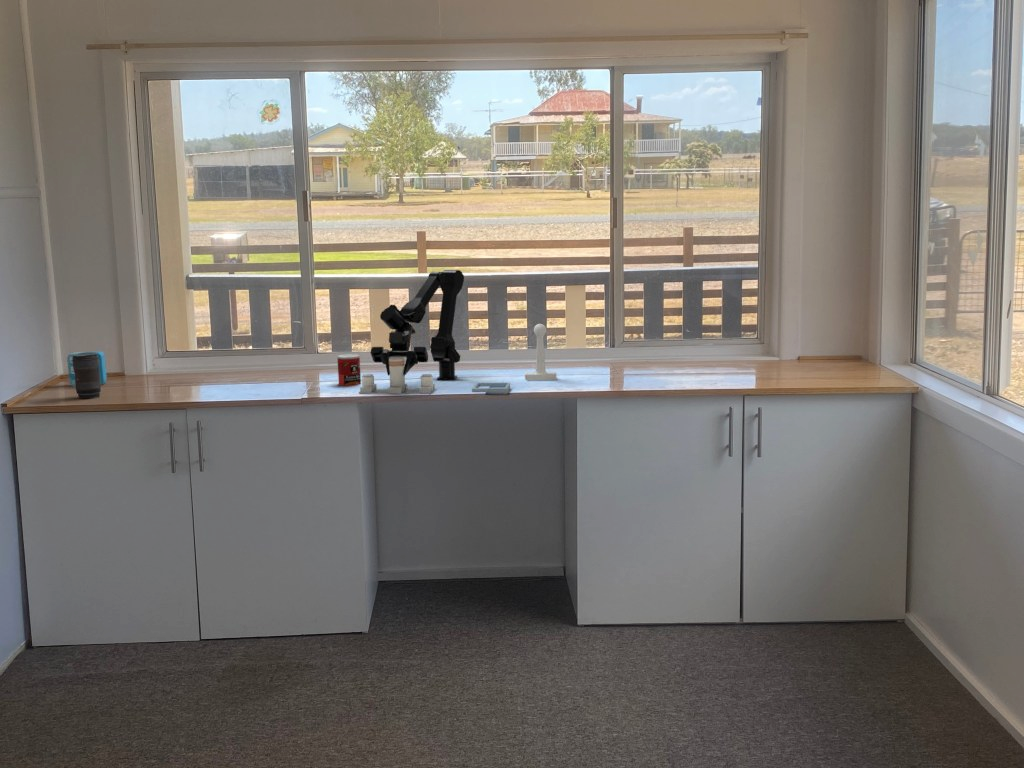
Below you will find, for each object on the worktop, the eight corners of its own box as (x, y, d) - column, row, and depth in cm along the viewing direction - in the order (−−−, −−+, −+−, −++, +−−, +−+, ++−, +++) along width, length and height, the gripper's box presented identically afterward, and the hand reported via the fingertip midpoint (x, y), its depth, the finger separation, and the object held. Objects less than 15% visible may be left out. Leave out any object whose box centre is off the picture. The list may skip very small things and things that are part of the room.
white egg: (364, 390, 342) (363, 374, 341) (375, 390, 342) (375, 373, 341) (361, 392, 338) (360, 375, 337) (373, 392, 338) (372, 375, 337)
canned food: (345, 389, 350) (343, 358, 348) (334, 386, 356) (333, 355, 355) (365, 386, 354) (363, 355, 353) (354, 384, 361) (353, 353, 359)
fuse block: (364, 391, 345) (364, 383, 344) (437, 391, 342) (437, 383, 341) (357, 396, 336) (357, 388, 336) (432, 396, 333) (431, 388, 333)
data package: (69, 386, 368) (66, 354, 366) (73, 384, 372) (70, 352, 370) (104, 385, 369) (101, 352, 367) (107, 383, 374) (104, 351, 372)
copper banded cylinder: (391, 389, 342) (390, 355, 340) (406, 389, 341) (405, 355, 339) (388, 392, 336) (387, 358, 334) (404, 392, 336) (402, 357, 334)
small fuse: (422, 390, 340) (421, 373, 339) (434, 390, 339) (433, 373, 338) (420, 392, 336) (419, 375, 335) (432, 392, 335) (431, 375, 334)
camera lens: (71, 398, 344) (66, 354, 342) (92, 394, 351) (88, 351, 348) (85, 400, 340) (81, 356, 337) (106, 396, 346) (102, 352, 344)
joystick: (525, 381, 359) (524, 324, 356) (524, 377, 367) (523, 322, 363) (556, 380, 360) (556, 324, 357) (554, 376, 367) (553, 321, 364)
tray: (476, 388, 346) (476, 382, 346) (510, 388, 345) (510, 382, 345) (472, 394, 335) (472, 388, 335) (507, 394, 334) (507, 388, 334)
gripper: (370, 322, 340) (363, 360, 331) (425, 322, 338) (419, 360, 329) (377, 343, 349) (370, 380, 340) (430, 342, 347) (425, 380, 338)
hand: (396, 374), depth 336 cm, fingers closed on copper banded cylinder, 5 cm apart
